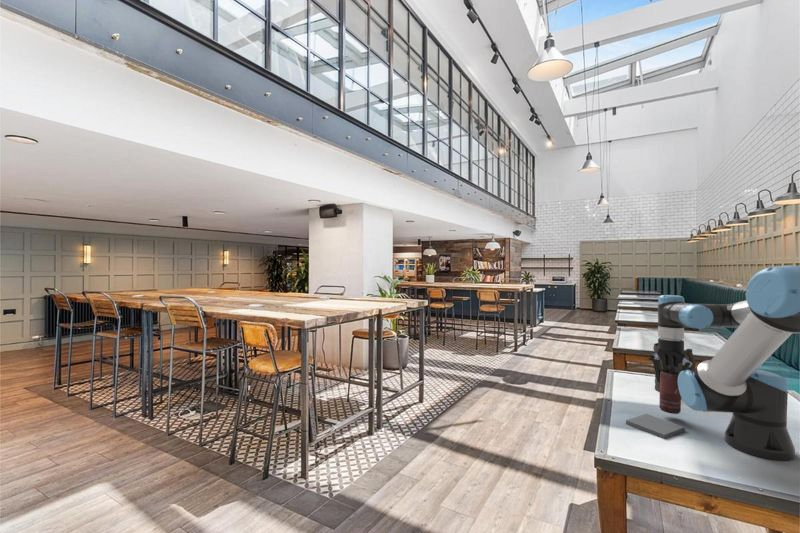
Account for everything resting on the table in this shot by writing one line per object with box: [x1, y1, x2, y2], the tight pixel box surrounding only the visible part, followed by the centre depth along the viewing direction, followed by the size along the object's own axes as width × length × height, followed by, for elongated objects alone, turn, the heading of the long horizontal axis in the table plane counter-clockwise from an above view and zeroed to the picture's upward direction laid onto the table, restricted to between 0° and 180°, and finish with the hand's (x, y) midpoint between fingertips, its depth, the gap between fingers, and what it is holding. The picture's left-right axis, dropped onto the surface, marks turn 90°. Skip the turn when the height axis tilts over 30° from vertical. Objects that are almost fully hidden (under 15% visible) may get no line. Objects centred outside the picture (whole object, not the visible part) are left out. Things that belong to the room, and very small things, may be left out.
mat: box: [625, 413, 686, 439], centre depth 125 cm, size 12×12×1 cm
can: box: [658, 370, 682, 415], centre depth 132 cm, size 6×6×14 cm
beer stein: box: [653, 342, 697, 393], centre depth 159 cm, size 15×11×20 cm
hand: (670, 405), depth 132 cm, fingers closed
